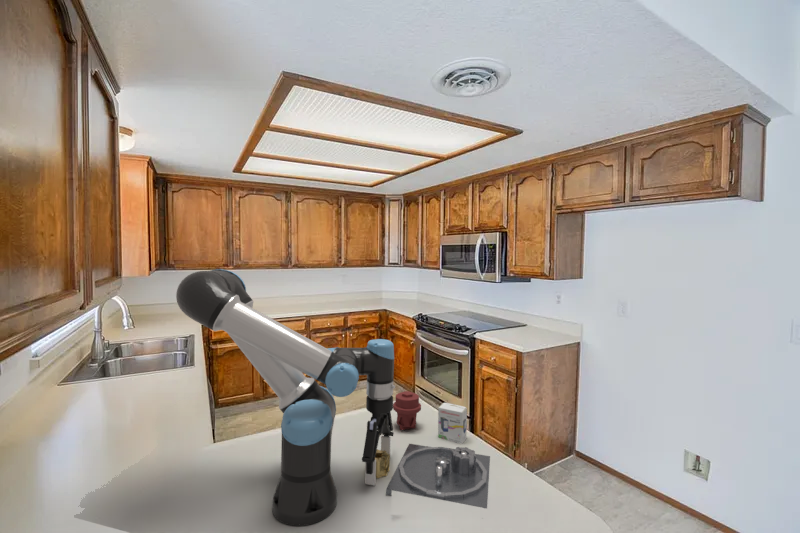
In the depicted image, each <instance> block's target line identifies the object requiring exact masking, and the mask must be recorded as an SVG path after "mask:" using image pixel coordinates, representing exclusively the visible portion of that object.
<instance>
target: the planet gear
mask: <svg viewBox="0 0 800 533" xmlns="http://www.w3.org/2000/svg"><path fill="white" fill-rule="evenodd" d="M375 460H376V479H380V478H382V477H387V476H388V473H389V472H390V466H391V464H390V461H391V453H390V454H388V453H387V452H386V451H385V450H384V451H382V450H381V449H378V448H377V451H376V456H375Z"/></svg>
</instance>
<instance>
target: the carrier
mask: <svg viewBox="0 0 800 533" xmlns="http://www.w3.org/2000/svg"><path fill="white" fill-rule="evenodd" d="M454 449H455V448H449V447H444V446H426V445H422V444H421V445H420V444H414V443H408V445H407V448H405V450H404V451H405V452H404V453H403V455H402V457H401V458H400V461H399V463H398V465H397V467H396V469H395V471H394V473H393V475H392V477H391V479H390V481H389V482H388V485H387V487H386V490H385V496H390V497H392V491H394V492H400V493H404V494H410V495H414V496H418V497H419V496H420V497H423V498H424V497H425V498H430V499H434V500H440V501H445V502H451V503H456V504H457V503H458V504H463V505H467V506H471V507H478V508H483V509H488V500H489V499H488V496H489V479H490V478H489V477H490V467H491V466H490V462H491V456H489V455H485V454H479V453H478V454H477V453H475V455H476V472H473V473H472V474H471V475H459V473H457V472H455V471H453V470H452V467H451V460H452V450H454ZM461 455H467V453H466V452H464V451H463V452H461Z"/></svg>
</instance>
